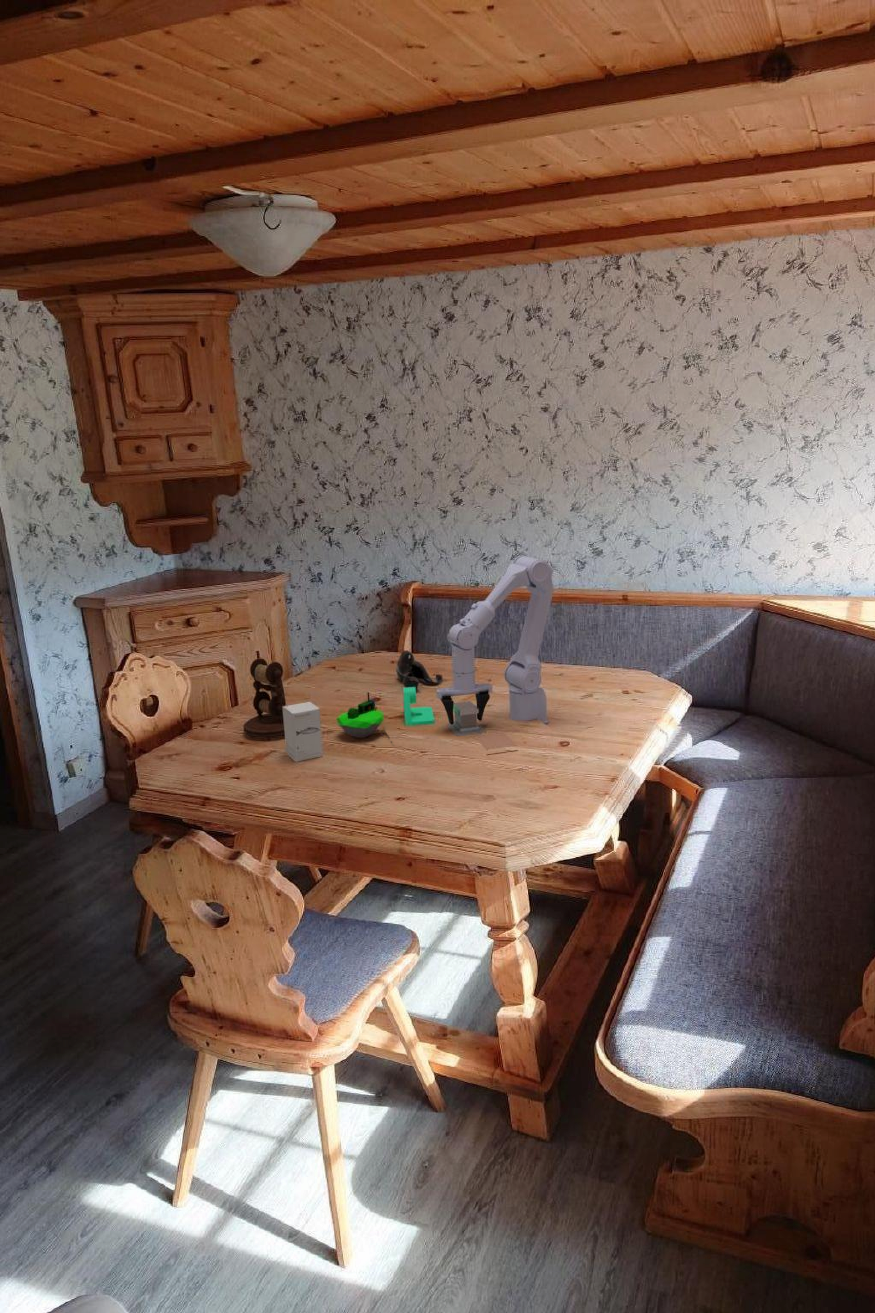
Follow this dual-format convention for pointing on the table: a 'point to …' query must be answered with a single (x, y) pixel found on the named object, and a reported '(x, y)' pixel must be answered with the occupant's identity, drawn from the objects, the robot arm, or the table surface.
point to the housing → (465, 717)
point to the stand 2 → (496, 741)
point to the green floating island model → (361, 719)
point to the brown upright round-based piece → (267, 700)
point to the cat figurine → (413, 671)
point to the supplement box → (302, 731)
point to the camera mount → (415, 709)
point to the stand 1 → (464, 733)
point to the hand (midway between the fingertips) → (465, 721)
